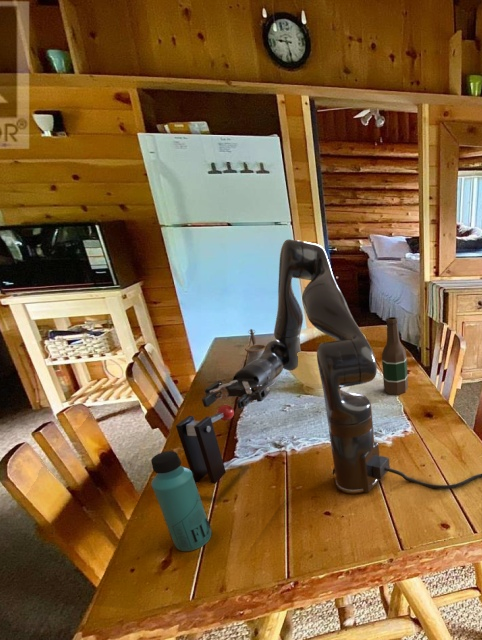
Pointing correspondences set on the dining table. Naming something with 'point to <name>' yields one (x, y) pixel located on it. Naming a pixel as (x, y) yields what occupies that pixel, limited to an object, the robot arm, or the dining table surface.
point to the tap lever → (212, 418)
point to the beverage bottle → (180, 502)
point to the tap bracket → (202, 450)
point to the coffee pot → (256, 353)
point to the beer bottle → (394, 361)
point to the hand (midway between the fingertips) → (221, 404)
